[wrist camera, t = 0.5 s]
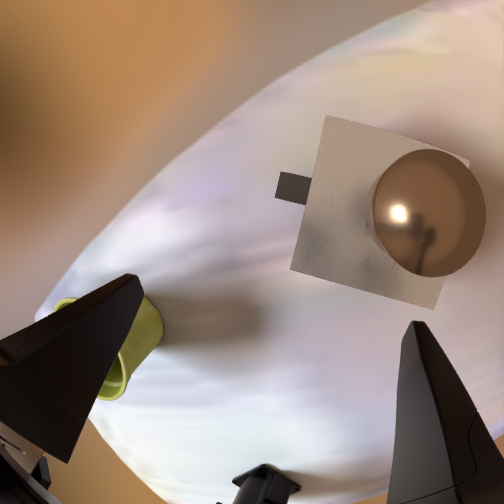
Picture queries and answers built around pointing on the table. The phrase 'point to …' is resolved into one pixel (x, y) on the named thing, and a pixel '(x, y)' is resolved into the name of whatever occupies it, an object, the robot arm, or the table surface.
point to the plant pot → (129, 348)
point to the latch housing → (352, 213)
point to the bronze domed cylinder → (427, 213)
